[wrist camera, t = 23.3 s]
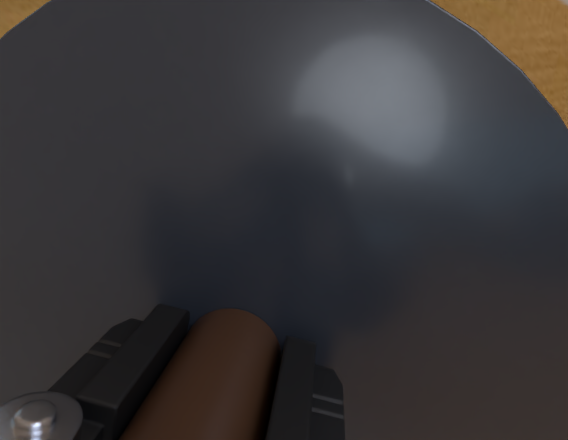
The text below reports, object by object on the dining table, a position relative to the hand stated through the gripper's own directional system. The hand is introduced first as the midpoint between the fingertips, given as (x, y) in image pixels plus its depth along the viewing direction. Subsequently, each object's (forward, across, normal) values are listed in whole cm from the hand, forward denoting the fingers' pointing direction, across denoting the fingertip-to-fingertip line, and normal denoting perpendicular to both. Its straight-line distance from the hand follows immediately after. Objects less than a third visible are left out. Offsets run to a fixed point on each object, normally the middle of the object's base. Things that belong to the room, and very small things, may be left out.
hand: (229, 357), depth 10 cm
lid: (+1, 0, 0) cm, 1 cm away
